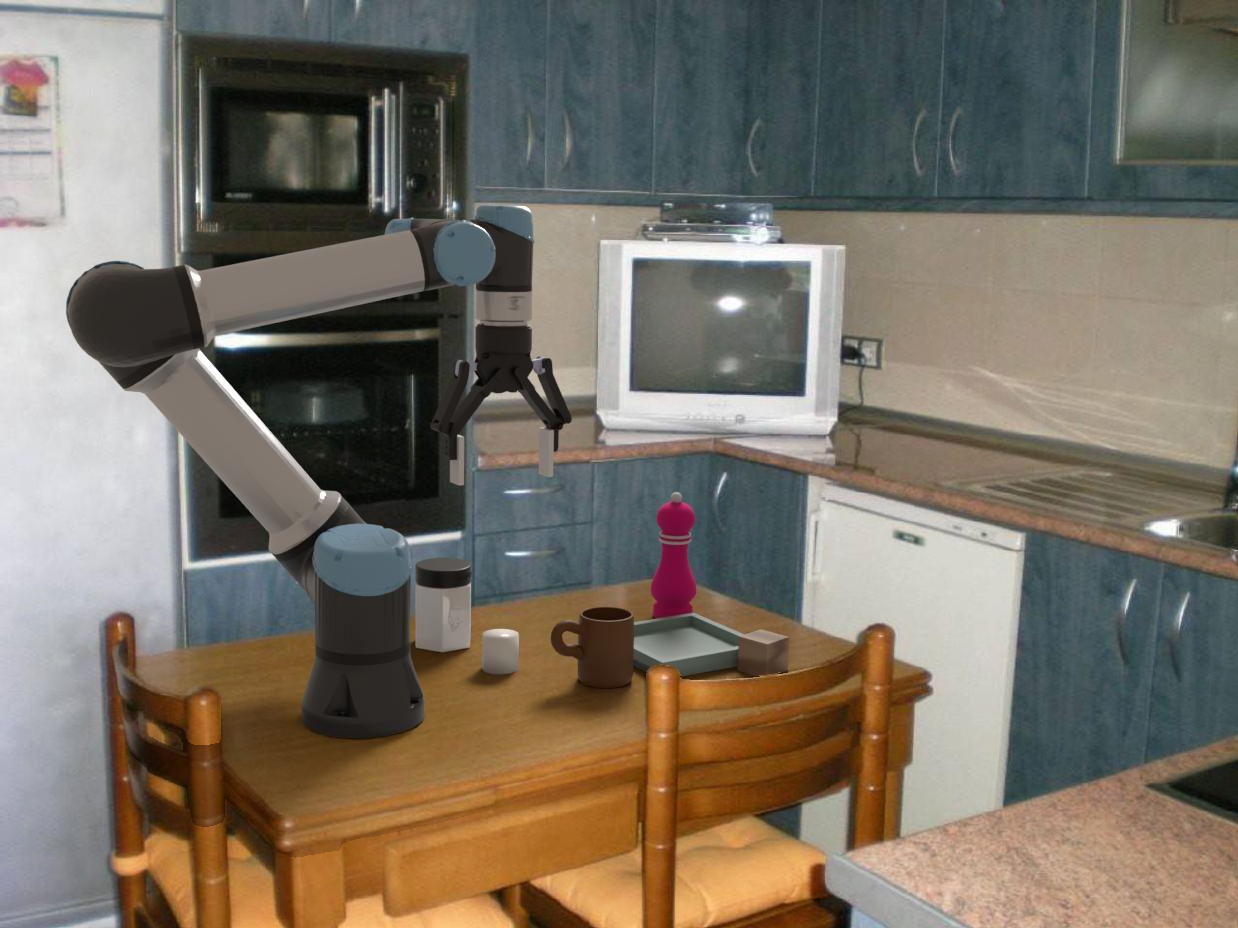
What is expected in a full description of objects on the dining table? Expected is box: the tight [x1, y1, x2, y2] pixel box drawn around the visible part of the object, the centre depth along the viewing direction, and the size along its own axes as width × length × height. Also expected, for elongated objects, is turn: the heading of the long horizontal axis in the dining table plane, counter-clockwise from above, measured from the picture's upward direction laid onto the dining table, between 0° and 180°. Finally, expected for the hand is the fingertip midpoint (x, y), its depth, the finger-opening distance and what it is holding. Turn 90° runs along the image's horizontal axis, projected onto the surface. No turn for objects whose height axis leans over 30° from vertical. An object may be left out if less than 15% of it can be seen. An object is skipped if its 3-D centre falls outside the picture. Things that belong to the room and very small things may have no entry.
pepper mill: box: [650, 491, 697, 619], centre depth 226 cm, size 7×7×20 cm
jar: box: [414, 557, 473, 653], centre depth 210 cm, size 9×8×12 cm
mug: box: [550, 606, 635, 689], centre depth 194 cm, size 12×8×9 cm, turn 117°
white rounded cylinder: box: [481, 628, 520, 675], centre depth 200 cm, size 5×5×5 cm
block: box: [736, 629, 790, 677], centre depth 202 cm, size 5×5×5 cm
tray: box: [633, 612, 744, 678], centre depth 209 cm, size 18×18×2 cm
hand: (502, 479), depth 195 cm, fingers open, 13 cm apart
